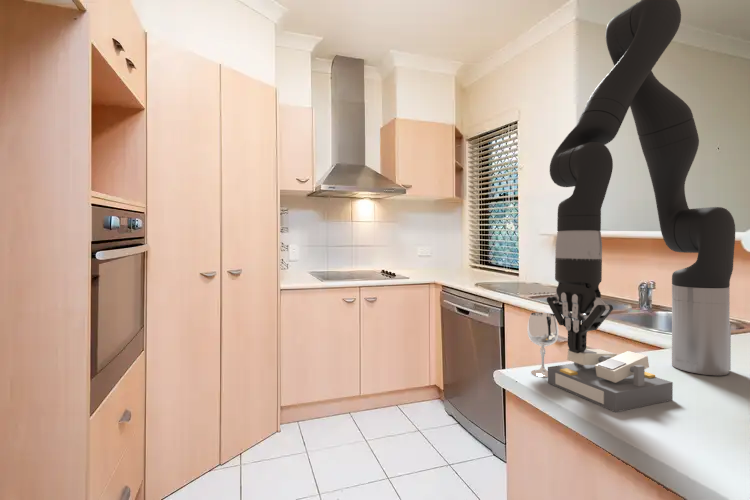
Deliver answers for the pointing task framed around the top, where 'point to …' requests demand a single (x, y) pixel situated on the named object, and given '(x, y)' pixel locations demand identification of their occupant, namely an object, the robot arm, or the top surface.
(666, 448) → the top surface
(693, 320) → the robot arm
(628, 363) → the rocker far
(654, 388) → the switch unit
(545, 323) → the wineglass
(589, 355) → the block
